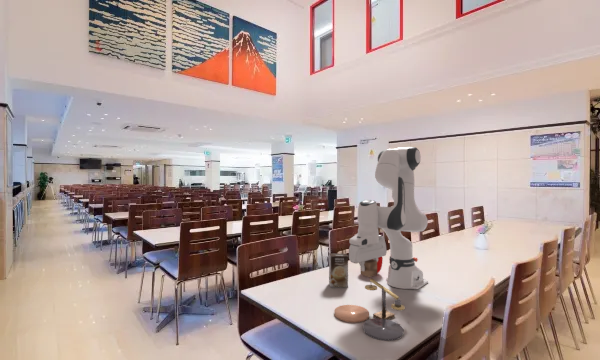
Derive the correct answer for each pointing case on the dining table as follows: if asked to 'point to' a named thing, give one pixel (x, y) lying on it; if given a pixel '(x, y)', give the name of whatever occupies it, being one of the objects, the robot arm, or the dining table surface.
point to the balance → (396, 306)
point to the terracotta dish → (351, 313)
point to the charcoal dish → (383, 329)
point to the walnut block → (370, 268)
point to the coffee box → (338, 270)
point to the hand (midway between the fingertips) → (368, 269)
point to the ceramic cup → (379, 264)
